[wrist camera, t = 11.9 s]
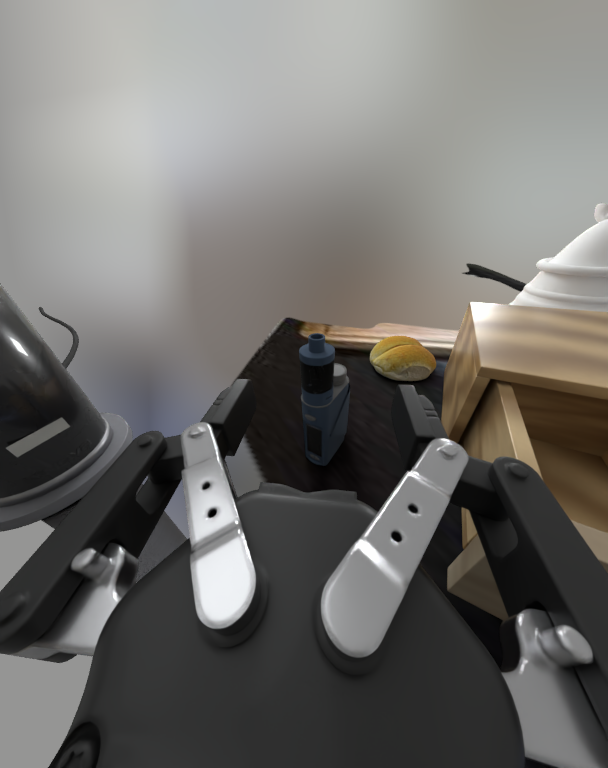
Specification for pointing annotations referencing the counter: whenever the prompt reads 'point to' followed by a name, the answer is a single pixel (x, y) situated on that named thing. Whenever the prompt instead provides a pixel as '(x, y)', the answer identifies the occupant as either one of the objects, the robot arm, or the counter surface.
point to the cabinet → (523, 355)
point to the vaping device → (323, 399)
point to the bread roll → (402, 359)
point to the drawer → (537, 470)
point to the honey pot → (574, 273)
